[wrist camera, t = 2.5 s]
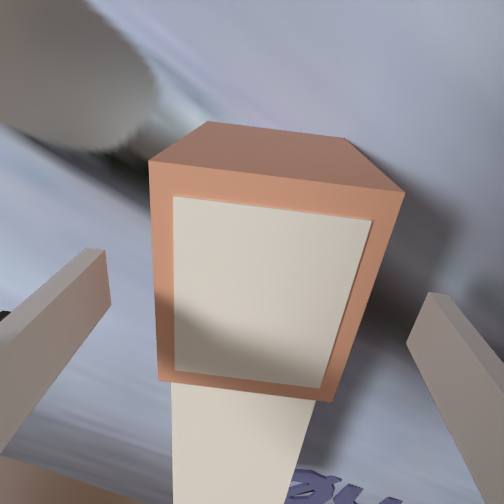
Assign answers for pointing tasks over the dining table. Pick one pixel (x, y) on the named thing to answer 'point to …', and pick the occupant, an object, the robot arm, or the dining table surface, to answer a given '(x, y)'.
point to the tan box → (264, 257)
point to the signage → (323, 490)
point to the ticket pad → (234, 445)
